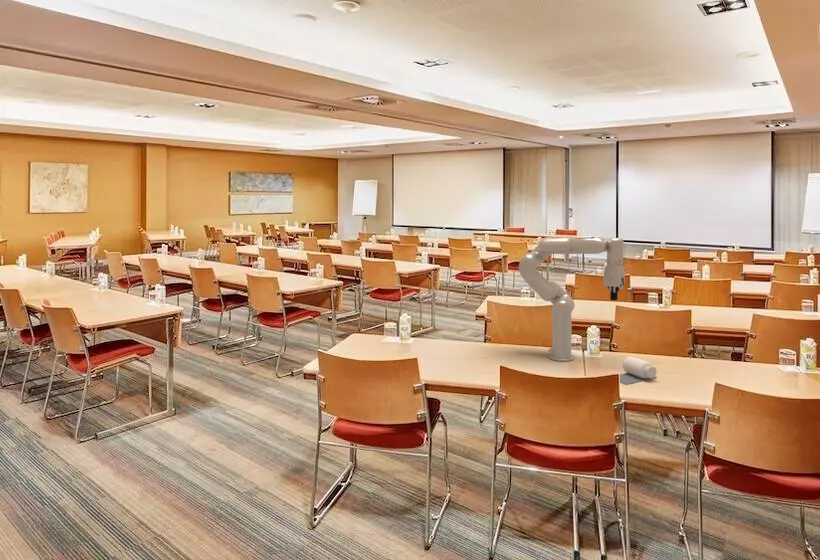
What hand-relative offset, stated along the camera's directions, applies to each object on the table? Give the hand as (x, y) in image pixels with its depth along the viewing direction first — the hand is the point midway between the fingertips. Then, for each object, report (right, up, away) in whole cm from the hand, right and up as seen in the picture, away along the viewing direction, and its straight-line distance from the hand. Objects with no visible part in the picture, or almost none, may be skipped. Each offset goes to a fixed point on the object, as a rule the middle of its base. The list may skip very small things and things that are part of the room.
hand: (613, 299), depth 291 cm
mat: (0, -35, -22) cm, 42 cm away
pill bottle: (+2, -30, -15) cm, 33 cm away
